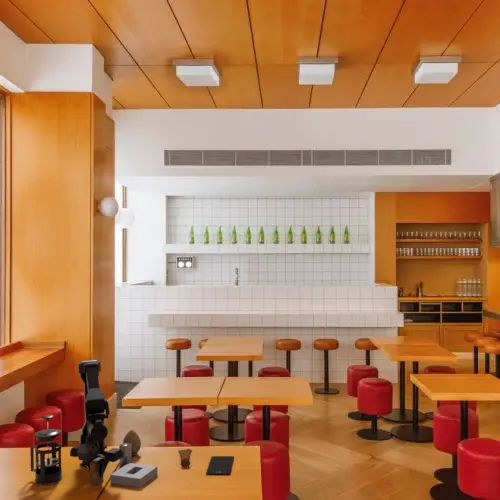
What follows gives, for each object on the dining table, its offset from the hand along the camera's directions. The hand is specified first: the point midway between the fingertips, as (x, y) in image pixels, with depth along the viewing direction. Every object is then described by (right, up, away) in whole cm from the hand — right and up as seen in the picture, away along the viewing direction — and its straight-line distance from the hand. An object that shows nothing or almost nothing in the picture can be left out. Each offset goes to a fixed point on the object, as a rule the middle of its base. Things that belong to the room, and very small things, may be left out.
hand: (96, 476), depth 205 cm
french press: (-19, -3, +4) cm, 19 cm away
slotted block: (+13, -2, +3) cm, 13 cm away
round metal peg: (+7, -2, +16) cm, 17 cm away
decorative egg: (+7, -2, +27) cm, 28 cm away
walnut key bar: (0, -2, 0) cm, 2 cm away
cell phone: (+43, -2, +14) cm, 45 cm away
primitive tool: (+28, -2, +23) cm, 37 cm away
